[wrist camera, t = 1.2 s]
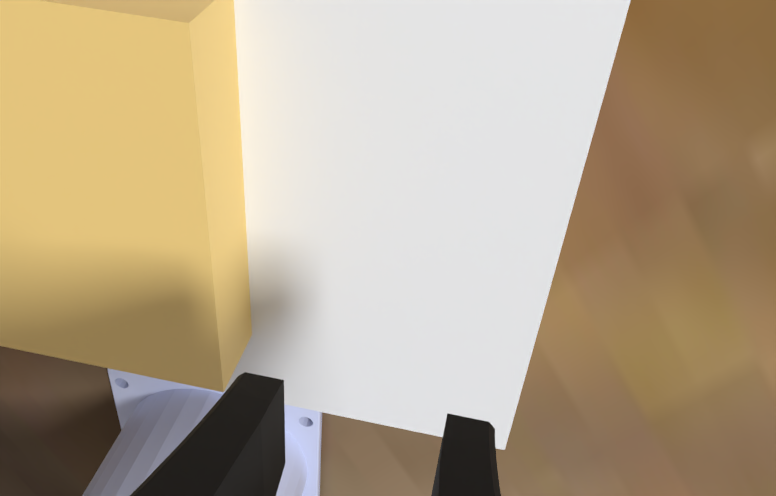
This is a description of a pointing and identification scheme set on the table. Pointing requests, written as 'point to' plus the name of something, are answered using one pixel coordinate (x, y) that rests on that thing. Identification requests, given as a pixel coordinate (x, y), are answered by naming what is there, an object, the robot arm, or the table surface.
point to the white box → (411, 194)
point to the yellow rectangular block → (123, 186)
